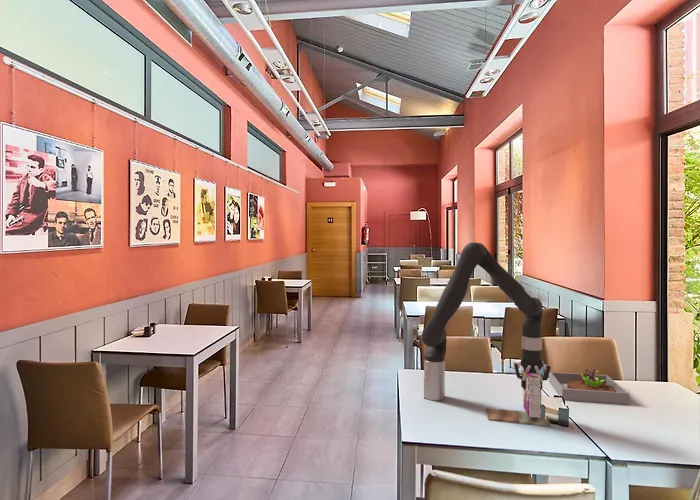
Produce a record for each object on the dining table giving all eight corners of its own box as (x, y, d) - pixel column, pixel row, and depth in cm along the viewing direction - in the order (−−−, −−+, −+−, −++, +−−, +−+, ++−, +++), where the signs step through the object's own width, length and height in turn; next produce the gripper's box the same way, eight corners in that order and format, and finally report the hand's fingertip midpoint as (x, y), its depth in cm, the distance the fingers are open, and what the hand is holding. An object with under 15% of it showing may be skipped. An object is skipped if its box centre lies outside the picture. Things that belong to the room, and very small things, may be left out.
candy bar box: (522, 407, 176) (522, 367, 176) (535, 407, 175) (535, 368, 175) (528, 417, 165) (528, 375, 165) (541, 418, 164) (541, 376, 164)
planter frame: (562, 400, 192) (562, 389, 192) (548, 381, 218) (548, 371, 218) (629, 404, 185) (629, 393, 185) (607, 385, 211) (607, 375, 211)
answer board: (488, 420, 169) (488, 416, 169) (486, 410, 180) (486, 406, 180) (550, 426, 164) (550, 421, 164) (544, 415, 174) (544, 410, 174)
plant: (592, 400, 192) (592, 375, 192) (560, 386, 211) (560, 364, 211) (627, 396, 198) (627, 372, 197) (593, 383, 216) (592, 361, 216)
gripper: (514, 348, 168) (514, 391, 168) (553, 350, 165) (553, 394, 165) (511, 344, 176) (511, 385, 176) (548, 346, 172) (548, 387, 172)
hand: (531, 389), depth 170 cm, fingers closed on candy bar box, 5 cm apart
